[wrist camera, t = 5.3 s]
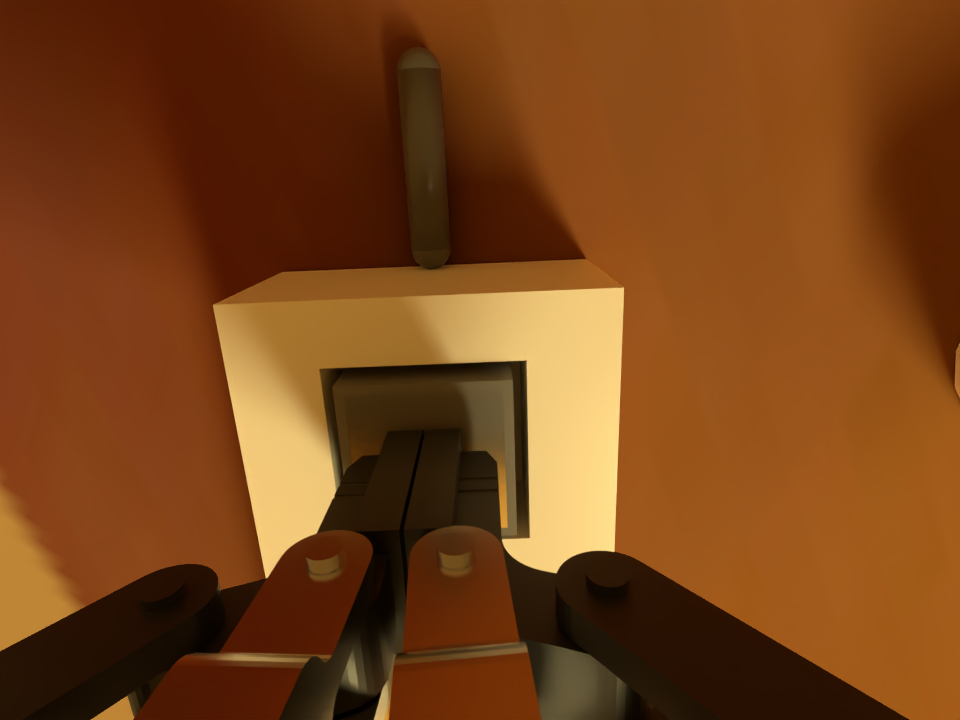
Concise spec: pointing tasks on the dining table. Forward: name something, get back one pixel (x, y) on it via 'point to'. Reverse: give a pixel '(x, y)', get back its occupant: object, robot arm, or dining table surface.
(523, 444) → the power strip
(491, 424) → the switch
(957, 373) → the white soft cylinder
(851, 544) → the dining table surface
